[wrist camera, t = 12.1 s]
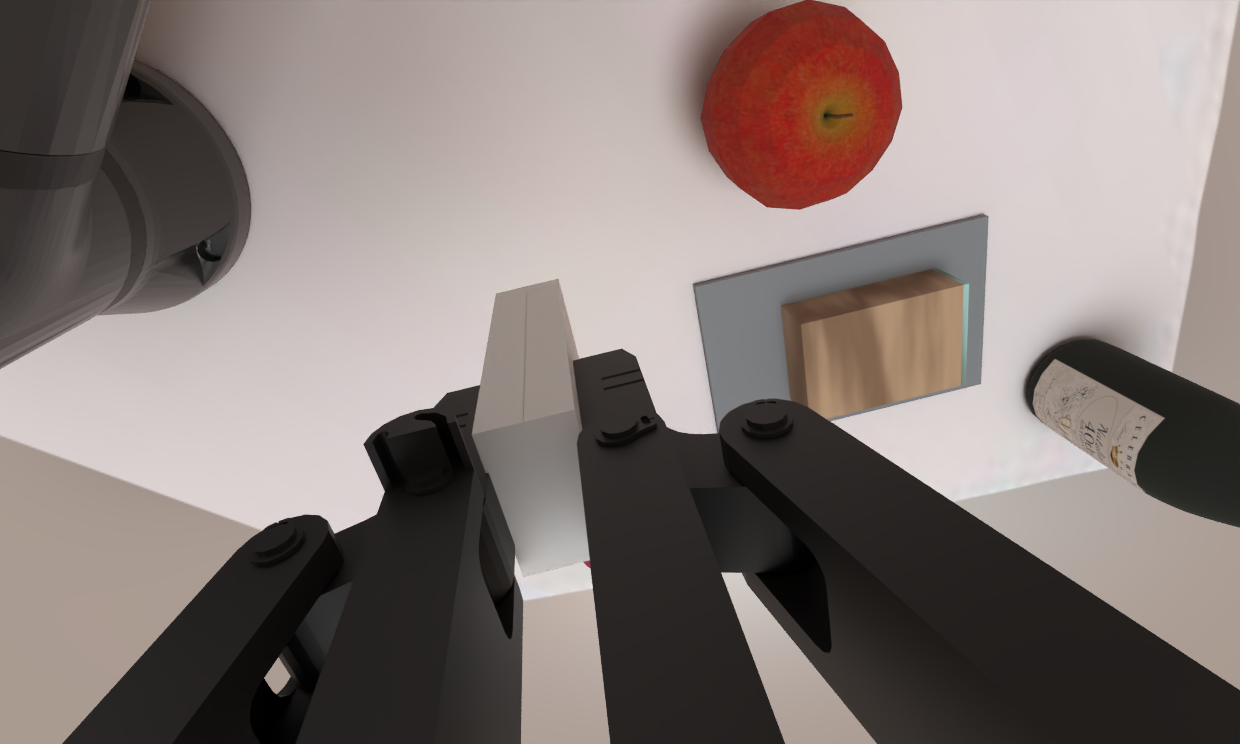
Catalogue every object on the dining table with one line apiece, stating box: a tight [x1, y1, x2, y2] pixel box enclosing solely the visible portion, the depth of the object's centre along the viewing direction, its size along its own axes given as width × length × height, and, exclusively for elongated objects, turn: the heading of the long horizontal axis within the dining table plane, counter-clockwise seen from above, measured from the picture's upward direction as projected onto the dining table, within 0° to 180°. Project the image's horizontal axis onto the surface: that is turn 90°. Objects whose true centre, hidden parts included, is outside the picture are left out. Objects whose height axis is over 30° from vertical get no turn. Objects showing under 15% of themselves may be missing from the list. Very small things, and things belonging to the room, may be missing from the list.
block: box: [781, 268, 969, 419], centre depth 47 cm, size 4×8×12 cm
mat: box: [693, 215, 988, 434], centre depth 49 cm, size 22×14×1 cm, turn 102°
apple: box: [701, 0, 902, 210], centre depth 36 cm, size 10×10×14 cm
